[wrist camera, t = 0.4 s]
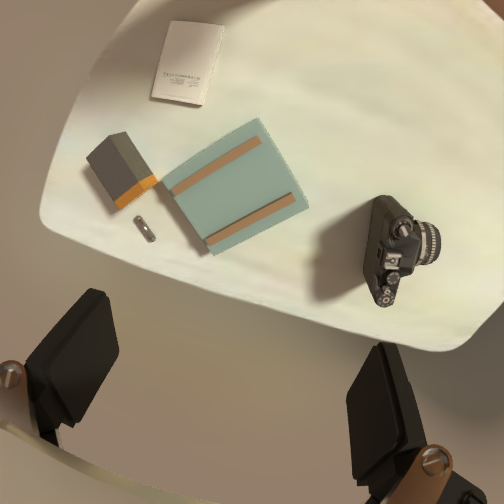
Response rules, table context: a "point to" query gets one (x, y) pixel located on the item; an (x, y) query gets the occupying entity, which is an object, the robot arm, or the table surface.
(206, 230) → the stand
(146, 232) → the grey metal rounded bar
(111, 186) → the block
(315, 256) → the table surface
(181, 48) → the external hard drive
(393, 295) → the camera
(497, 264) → the table surface
